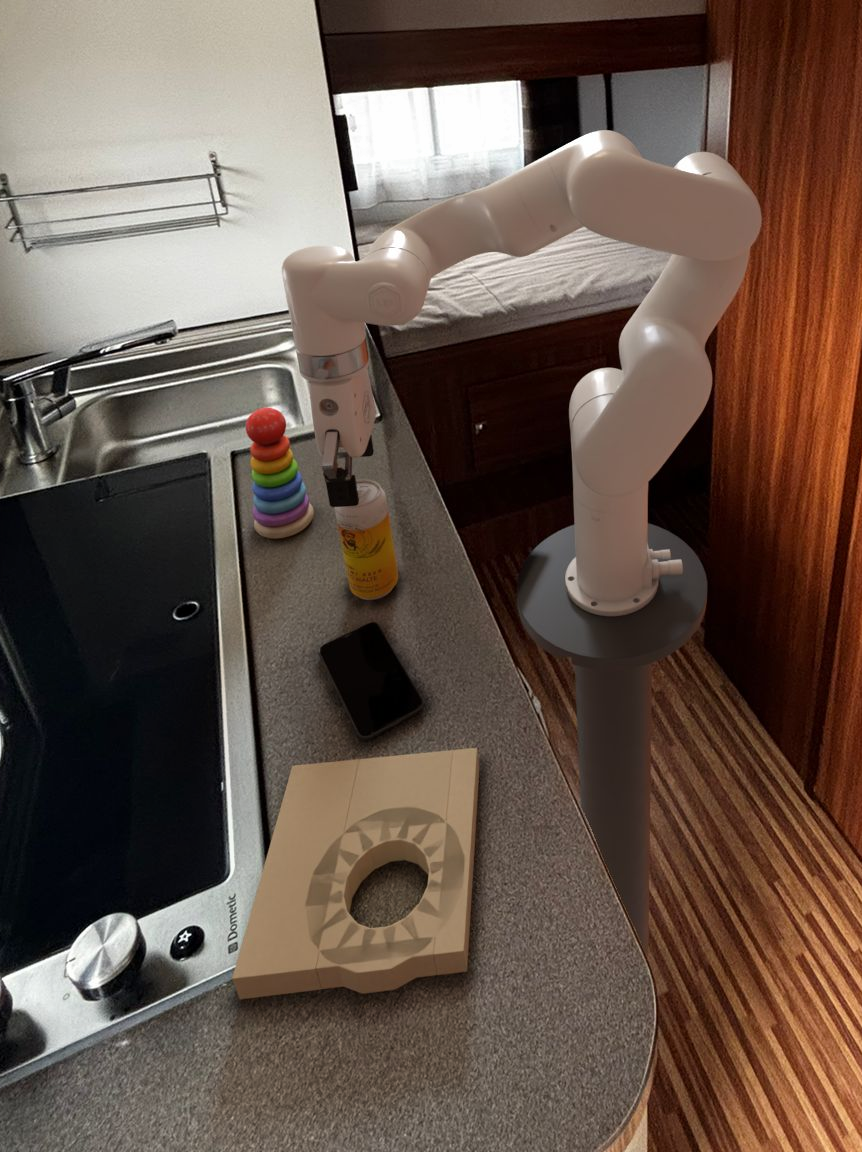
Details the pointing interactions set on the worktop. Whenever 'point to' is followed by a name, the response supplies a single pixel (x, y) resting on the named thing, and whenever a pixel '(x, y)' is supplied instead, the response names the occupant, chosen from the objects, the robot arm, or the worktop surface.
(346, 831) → the pad base
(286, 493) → the stacking toy
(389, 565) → the beer can
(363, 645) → the smartphone
